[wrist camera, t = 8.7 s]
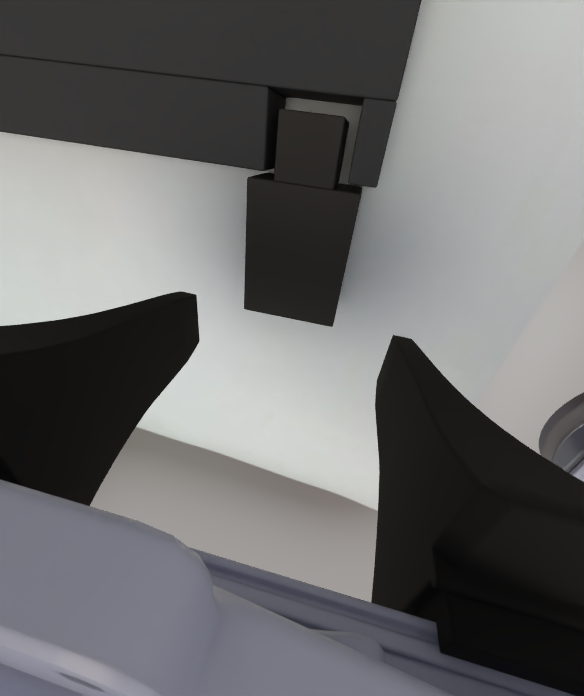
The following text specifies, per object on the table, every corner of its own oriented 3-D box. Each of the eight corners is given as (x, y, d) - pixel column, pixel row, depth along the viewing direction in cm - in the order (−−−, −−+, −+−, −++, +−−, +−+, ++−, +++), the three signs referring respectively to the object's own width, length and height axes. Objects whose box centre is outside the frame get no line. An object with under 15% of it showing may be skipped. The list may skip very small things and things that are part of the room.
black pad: (375, 125, 14) (377, 120, 11) (337, 304, 19) (332, 327, 17) (269, 111, 14) (248, 104, 12) (259, 289, 20) (243, 309, 17)
